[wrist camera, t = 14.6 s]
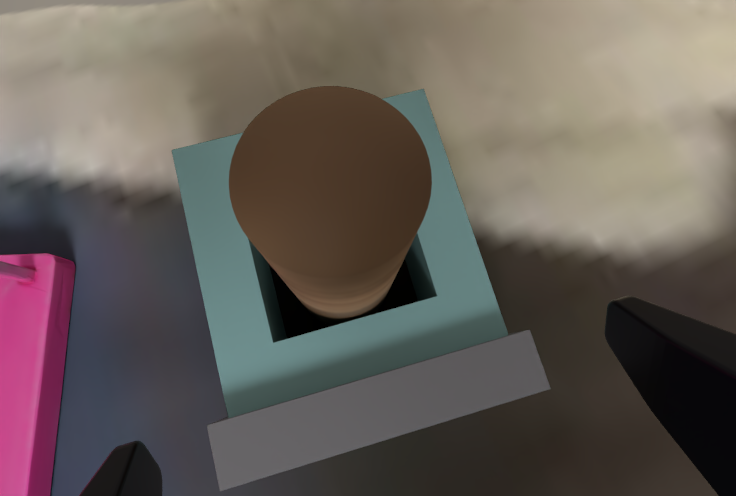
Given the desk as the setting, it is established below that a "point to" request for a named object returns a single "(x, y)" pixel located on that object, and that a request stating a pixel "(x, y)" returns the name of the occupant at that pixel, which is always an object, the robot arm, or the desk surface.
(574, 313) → the desk surface
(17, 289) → the file sorter
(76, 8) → the desk surface
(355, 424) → the charcoal wall
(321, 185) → the walnut dowel
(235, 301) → the teal block
